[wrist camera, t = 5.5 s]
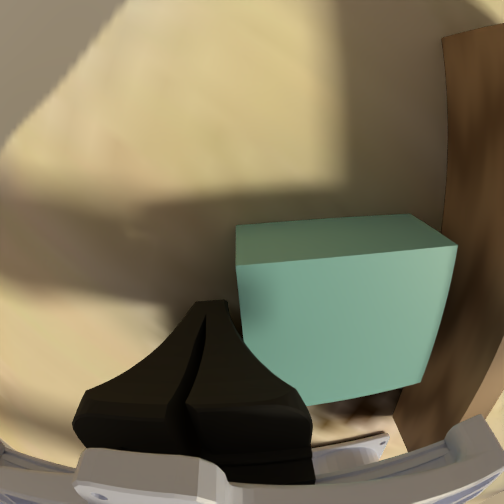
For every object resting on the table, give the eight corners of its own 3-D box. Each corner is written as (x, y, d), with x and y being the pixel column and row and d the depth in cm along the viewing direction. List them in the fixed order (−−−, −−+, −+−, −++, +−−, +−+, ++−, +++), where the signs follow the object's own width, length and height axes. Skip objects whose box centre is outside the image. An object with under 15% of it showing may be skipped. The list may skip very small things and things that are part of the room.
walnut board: (420, 408, 19) (449, 466, 14) (392, 415, 19) (419, 479, 14) (477, 49, 10) (565, 42, 4) (441, 38, 10) (532, 18, 4)
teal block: (390, 334, 16) (420, 382, 12) (248, 353, 16) (252, 411, 12) (408, 213, 13) (458, 245, 10) (235, 224, 13) (235, 265, 10)
